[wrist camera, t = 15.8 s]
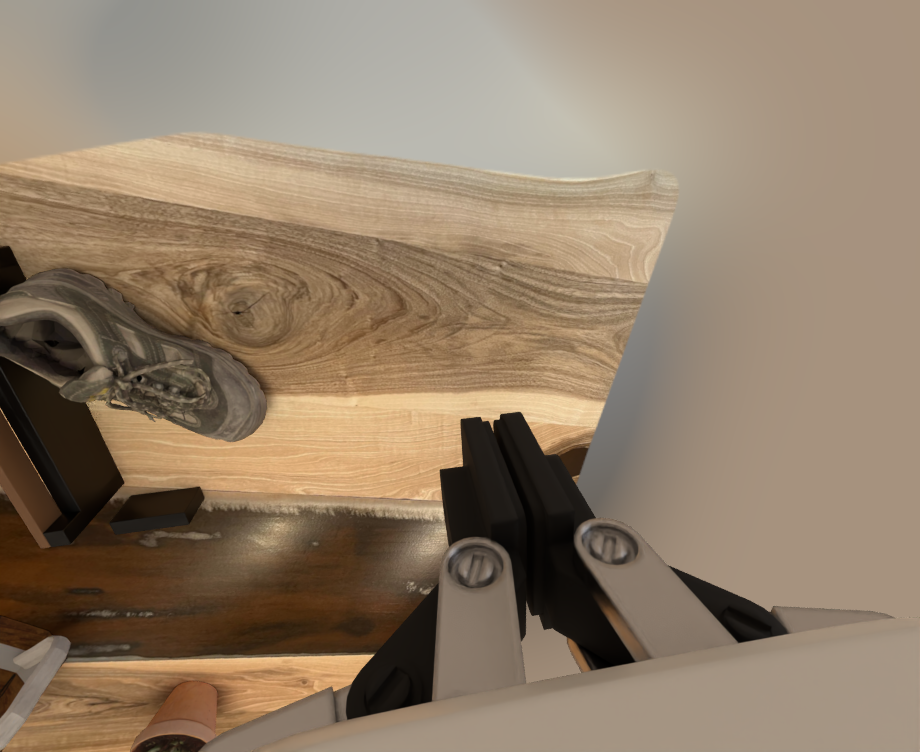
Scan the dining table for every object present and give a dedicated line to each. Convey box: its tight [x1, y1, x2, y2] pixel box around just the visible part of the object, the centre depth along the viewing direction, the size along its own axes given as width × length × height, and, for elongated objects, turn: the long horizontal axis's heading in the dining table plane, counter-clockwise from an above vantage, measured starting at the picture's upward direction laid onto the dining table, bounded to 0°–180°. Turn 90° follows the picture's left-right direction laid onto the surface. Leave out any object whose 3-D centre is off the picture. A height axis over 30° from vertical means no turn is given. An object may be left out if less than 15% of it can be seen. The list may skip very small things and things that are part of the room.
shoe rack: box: [0, 246, 204, 548], centre depth 37 cm, size 27×9×8 cm, turn 3°
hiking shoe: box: [0, 269, 267, 442], centre depth 36 cm, size 9×21×12 cm, turn 50°
